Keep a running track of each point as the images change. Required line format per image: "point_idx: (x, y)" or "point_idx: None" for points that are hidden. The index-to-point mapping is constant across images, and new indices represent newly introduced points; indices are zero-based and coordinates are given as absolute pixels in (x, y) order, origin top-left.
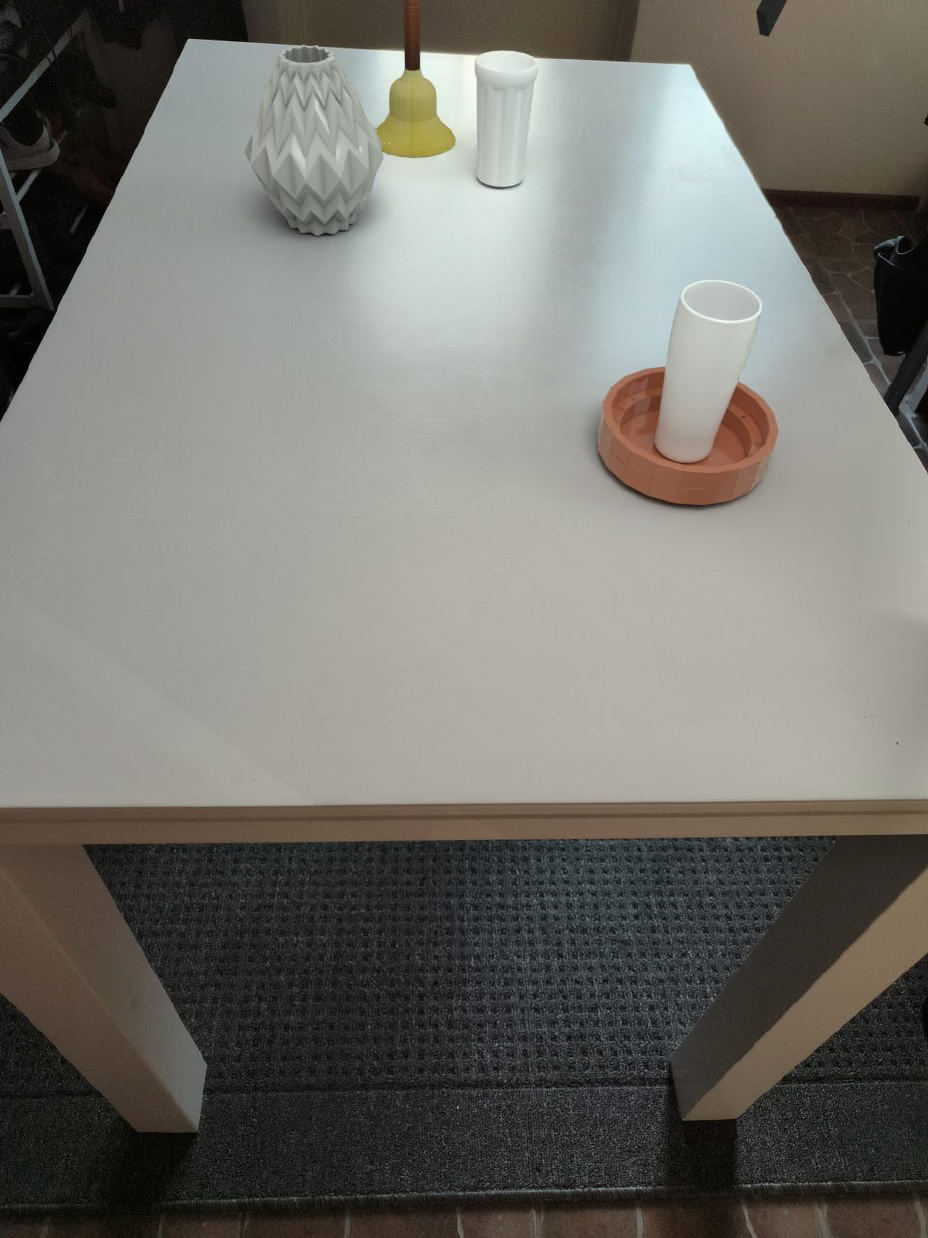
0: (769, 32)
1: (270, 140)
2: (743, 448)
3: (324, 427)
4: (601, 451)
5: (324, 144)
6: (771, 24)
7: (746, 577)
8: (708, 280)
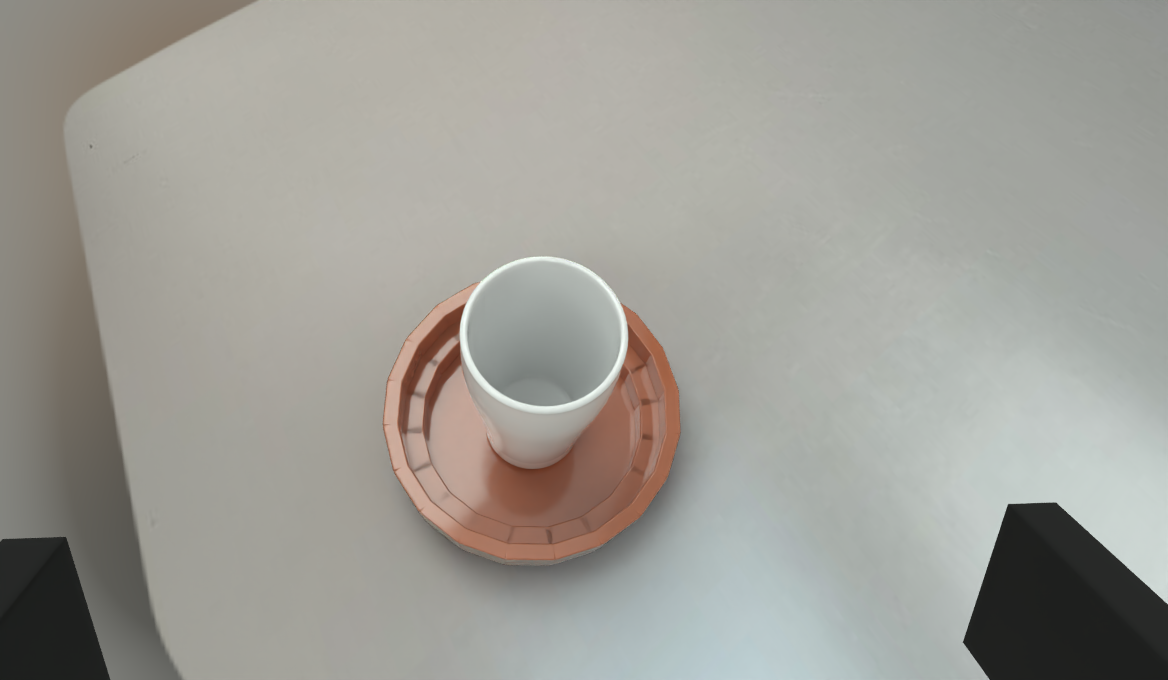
0: (971, 638)
1: None
2: (450, 490)
3: (930, 172)
4: None
5: None
6: (992, 639)
7: (335, 264)
8: (605, 382)
